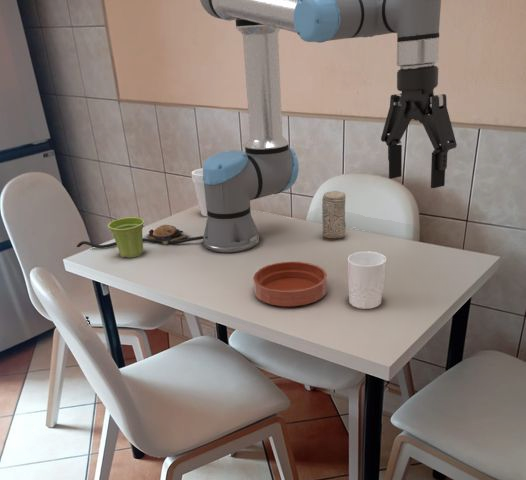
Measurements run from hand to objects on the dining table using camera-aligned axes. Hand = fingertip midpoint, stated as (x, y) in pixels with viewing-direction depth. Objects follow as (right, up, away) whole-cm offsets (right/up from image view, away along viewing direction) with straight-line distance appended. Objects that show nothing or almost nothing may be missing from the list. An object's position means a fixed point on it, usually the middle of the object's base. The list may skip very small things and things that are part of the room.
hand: (415, 182), depth 117 cm
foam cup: (-47, +9, +64) cm, 80 cm away
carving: (-12, -3, +41) cm, 42 cm away
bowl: (-25, -21, +12) cm, 35 cm away
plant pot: (-67, -9, +38) cm, 77 cm away
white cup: (-9, -24, +6) cm, 27 cm away
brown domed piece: (-59, -2, +47) cm, 75 cm away
